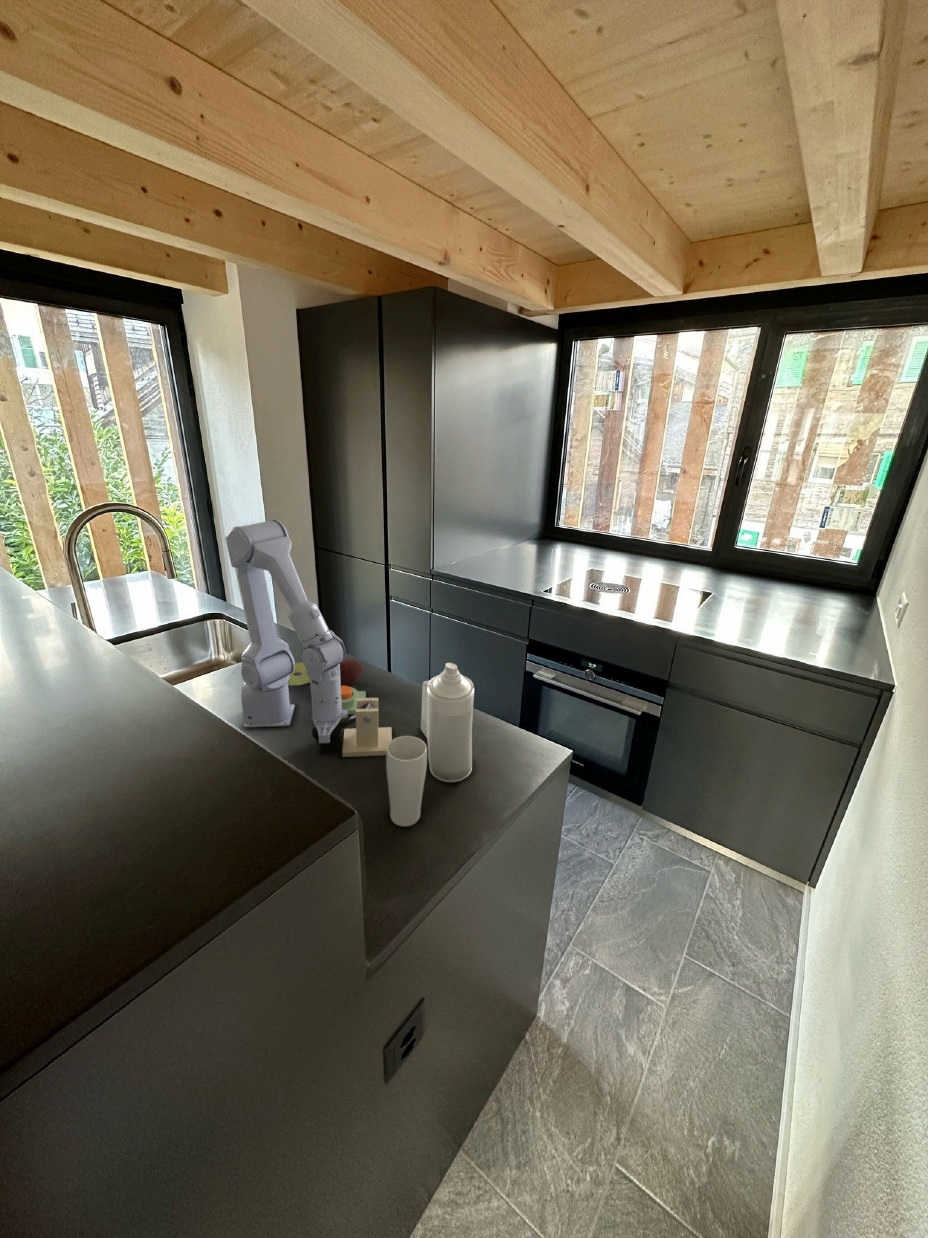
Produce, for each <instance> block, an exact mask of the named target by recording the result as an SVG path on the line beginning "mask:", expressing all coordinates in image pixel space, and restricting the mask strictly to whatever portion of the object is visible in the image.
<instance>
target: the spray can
mask: <svg viewBox="0 0 928 1238" xmlns="http://www.w3.org/2000/svg"><path fill="white" fill-rule="evenodd" d="M429 680H430V681H429ZM429 680H428V681H429V684H428V687H427V738H426V740H427V756H428V763H429V771H430V773H431V775H432V776H433V777H434V778H435V779H437V780H439V781H441V782H446V783H457V782H461V781H463V780H465V779H466V778H468V777H469V776H470V774H471V773H472V770H473V716H474V701H475V687H474V682H473V681H472V680H471V679H470V678H469V677H467V676H465V675H463V674H461V673H460V671H459V670H458V665H456V664H455V663H453V662H446V663H445V666H444V669H443V671H442V672H440V674H437V675H435V676H433V677H432V678H431V679H429Z"/></svg>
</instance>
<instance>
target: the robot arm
mask: <svg viewBox="0 0 928 1238" xmlns="http://www.w3.org/2000/svg"><path fill="white" fill-rule="evenodd" d="M225 542H226V543H225V544H226V547H227V552H228V557H229V562H230V565H231V566H230V567H232V568H234V571H235V576H236V581H237V585H238V590H239V594H240V599H241V604H242V608H243V613H244V618H245V622H246V626H247V627H246V628H247V631H248V635H249V640H250V642H249V644H248V646H247V647H246V648H245V650H243V652H242V654H241V656H240V660H241V670H240V671H241V673H240V674H241V678H242V680H243V682H244V683H243V685H242V687H241V707H242V714H243V715H242V716H243V722H244V724H243V727H244V728H268V727H270V728H272V727H289V726H290V725H291V721H292V718H293V714H294V711H295V703H294V704H291V703H290V692H289V691H290V689H289V685H288V680H289V679H290V674H291V673H292V672H293V671H294V669H295V663H296V661H295V658H294V656H293V654H292V652H291V650H290V645H289V644H288V643H287V642H285V641H283V640H281V639H279V638H278V635H277V630H276V625H275V620H274V614H273V609H272V604H271V599H270V594H269V588H268V585H267V584H268V583H267V579H266V573H265V571H268V573H269V576H271V579H272V580H273V581H274V583H275V585H276V586H277V588H278V589H279V591H280V593H281V594H282V596H283V598H284V600H285V601H286V603H287V605H288V606H289V611H288V615H287V618H288V620H289V622H290V624H291V626H292V628H293V630H294V632H295V634H296V636H297V638H298V640H299V642H300V643H301V646H302V648H303V652H302V654H301V655H300V657H301V661H302V663H303V664H304V665H305V667H306V670H307V675H308V678H309V679H310V682H309V683H310V696H311V707H312V709H311V710H312V713H311V720H312V722H313V724H314V726H313V727H312V730H311V736H312V738H313V739H314V740H315V741H316V742H317V744H318V746H319V749H320V752H321V753H322V754H328V753H329V754H330V753H336V747H337V742H338V740H339V738H340V736H341V733H342V729H341V728H335V727H336V726H337V724H338V723H340V722H342V721H343V719H348V718H349V714H348V711H347V710H342V704H341V682H340V664H338V663H340V662H341V661H343V660H344V659H346V654H347V650H346V647H345V645H344V642H343V640H342V638H340V637H339V636H337V635H336V634H335V633H334V632H335V631H333V630H332V629H329V627H328V625H327V623H326V620H325V618H324V616H323V614H322V612H321V611H320V609H319V607H318V605H317V604H316V603H315V602H313V601H310V600H308V597H307V595H306V592H305V590H304V588H303V587H304V586H303V585H302V581H301V579H300V577H299V575H298V572H297V570H296V567H295V564H294V563H293V562H294V561H293V560H292V557H291V553H290V552H291V550H292V543H293V542H292V540H291V538H290V536H289V532H288V529H287V528H286V526H285V525H284V523H283V522H281V521H280V520H279V519H276V518H275V519H273V518H272V519H269V520H267V521H266V520H265V521H262V522H256V523H251V524H247V525H241V526H239V525H236V526H233V527H231V528H230V529H229V531H228V533H227V534H226V536H225Z"/></svg>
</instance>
